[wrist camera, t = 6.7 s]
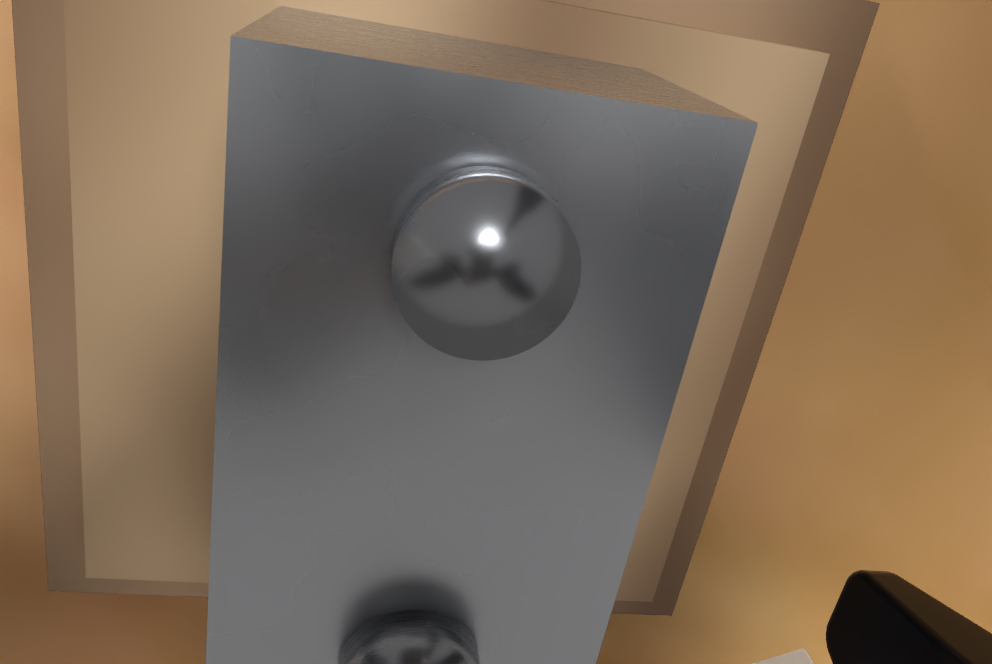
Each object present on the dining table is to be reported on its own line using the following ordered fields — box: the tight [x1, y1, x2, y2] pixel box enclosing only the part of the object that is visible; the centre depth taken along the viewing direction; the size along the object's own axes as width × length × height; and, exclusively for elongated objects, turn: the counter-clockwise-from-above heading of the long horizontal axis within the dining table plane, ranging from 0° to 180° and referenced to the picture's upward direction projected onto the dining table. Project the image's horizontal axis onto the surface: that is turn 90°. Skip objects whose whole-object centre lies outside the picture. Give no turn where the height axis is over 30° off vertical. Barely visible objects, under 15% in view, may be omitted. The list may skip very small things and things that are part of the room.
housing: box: [206, 6, 758, 664], centre depth 11 cm, size 9×5×5 cm, turn 170°
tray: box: [12, 0, 880, 616], centre depth 14 cm, size 12×12×2 cm
